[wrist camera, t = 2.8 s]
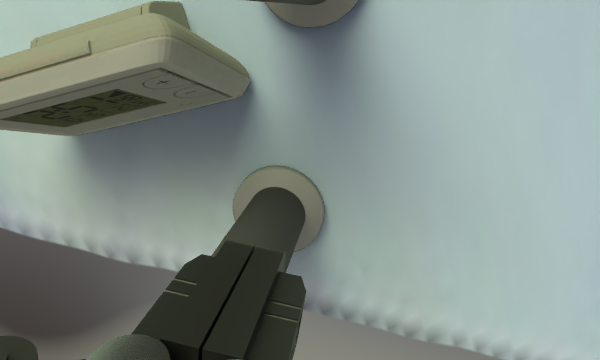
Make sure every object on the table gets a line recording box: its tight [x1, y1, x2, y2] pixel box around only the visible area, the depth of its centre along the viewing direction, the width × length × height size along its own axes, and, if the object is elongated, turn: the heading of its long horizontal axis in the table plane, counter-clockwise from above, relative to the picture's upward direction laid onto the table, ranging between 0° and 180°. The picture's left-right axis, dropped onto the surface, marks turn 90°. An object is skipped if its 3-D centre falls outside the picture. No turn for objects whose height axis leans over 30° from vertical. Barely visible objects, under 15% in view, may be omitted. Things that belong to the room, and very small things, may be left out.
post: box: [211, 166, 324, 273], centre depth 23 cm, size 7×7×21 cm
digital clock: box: [0, 1, 250, 136], centre depth 26 cm, size 16×9×11 cm, turn 93°
